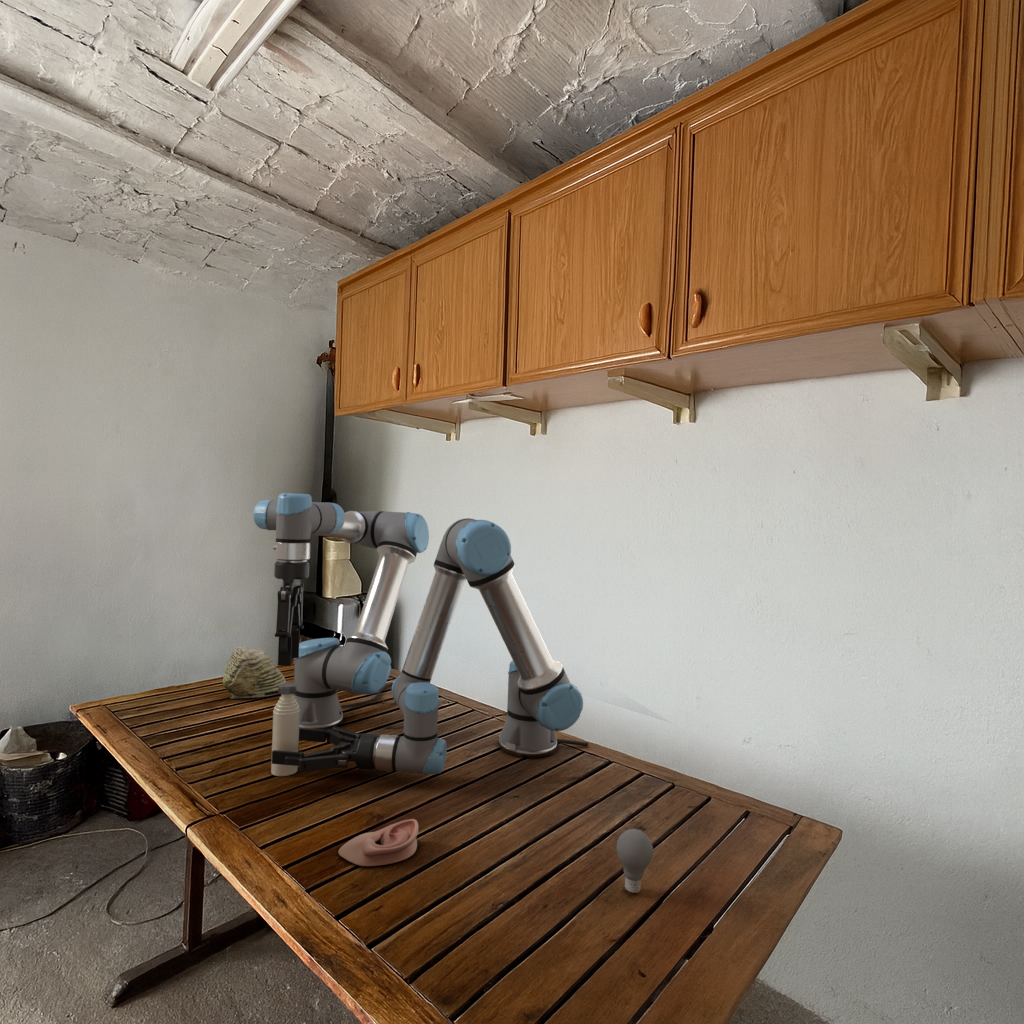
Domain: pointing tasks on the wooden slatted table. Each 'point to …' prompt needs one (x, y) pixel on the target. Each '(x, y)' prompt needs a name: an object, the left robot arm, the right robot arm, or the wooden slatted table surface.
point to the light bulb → (634, 857)
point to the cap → (287, 688)
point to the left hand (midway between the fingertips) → (288, 661)
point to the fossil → (251, 674)
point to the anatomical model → (382, 845)
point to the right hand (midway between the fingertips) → (286, 744)
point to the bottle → (285, 732)
